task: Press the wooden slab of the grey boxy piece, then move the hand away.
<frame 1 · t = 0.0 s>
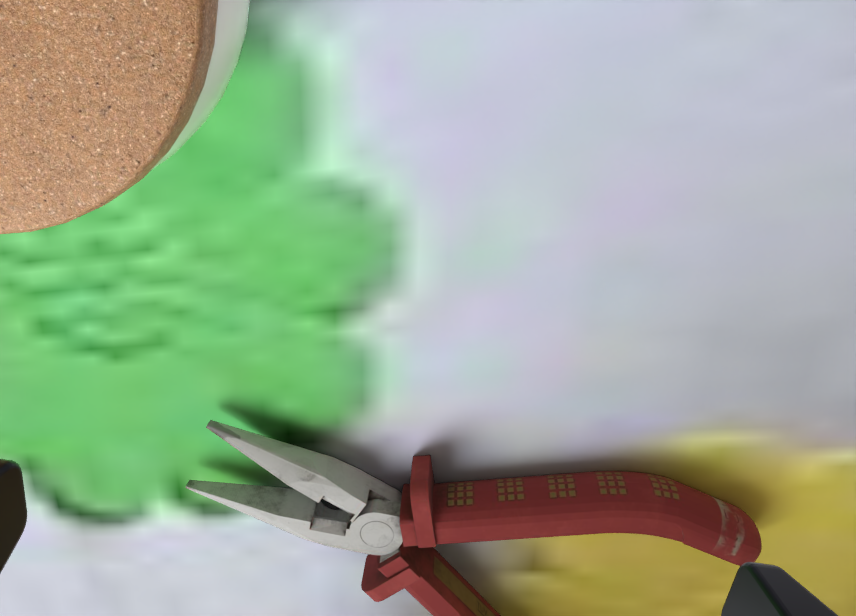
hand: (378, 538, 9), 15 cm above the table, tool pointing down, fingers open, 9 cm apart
pliers: (496, 501, 27), on the table
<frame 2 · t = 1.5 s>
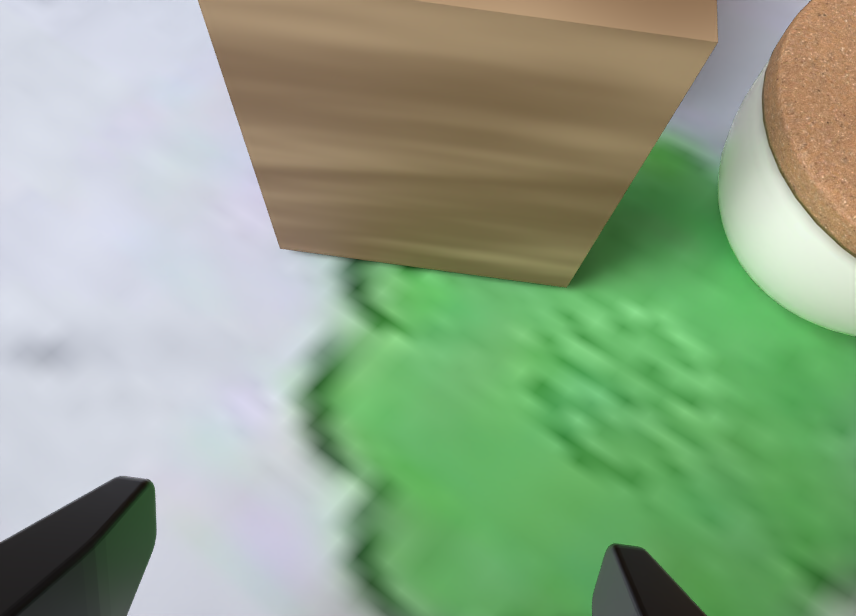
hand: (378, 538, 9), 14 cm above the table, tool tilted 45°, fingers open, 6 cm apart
wooden slab: (408, 37, 20), point 6 cm above the table, slide at 0.0 cm
lidded jar: (810, 243, 26), on the table
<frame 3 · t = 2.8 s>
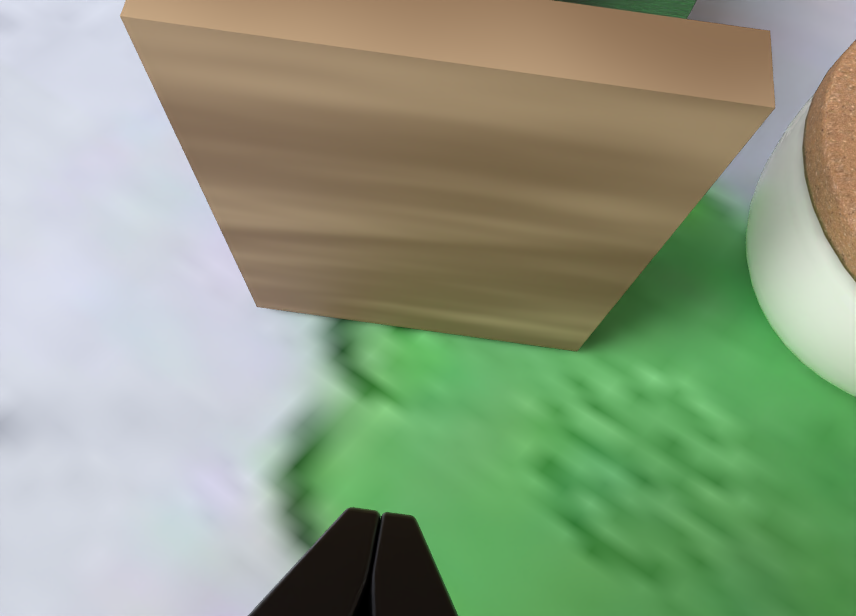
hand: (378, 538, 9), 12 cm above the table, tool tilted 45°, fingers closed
wooden slab: (399, 78, 18), point 7 cm above the table, slide at 0.0 cm
lidded jar: (846, 298, 24), on the table
grey boxy piece: (416, 334, 22), on the table
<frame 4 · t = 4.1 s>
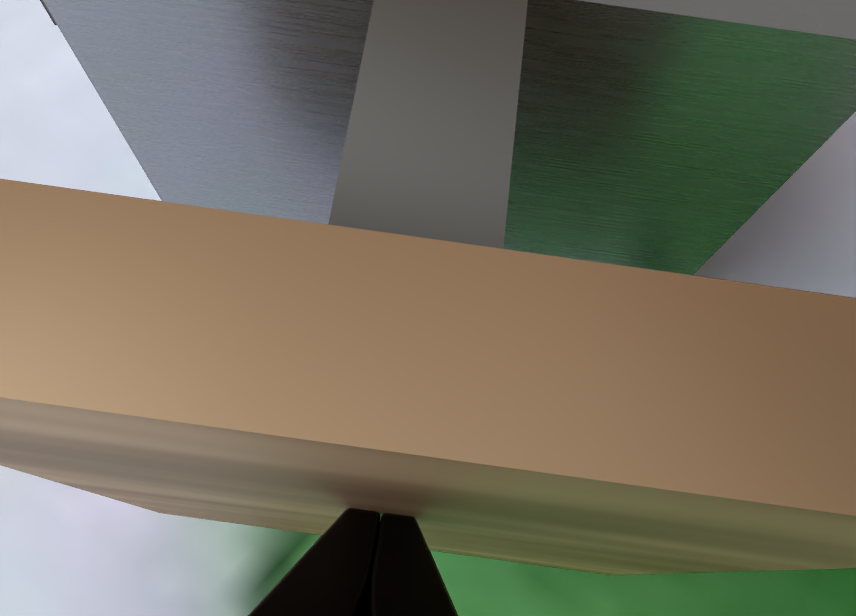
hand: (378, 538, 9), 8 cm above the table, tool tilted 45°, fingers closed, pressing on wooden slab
wooden slab: (347, 232, 12), point 6 cm above the table, slide at 1.1 cm, touching gripper
grey boxy piece: (377, 594, 16), on the table
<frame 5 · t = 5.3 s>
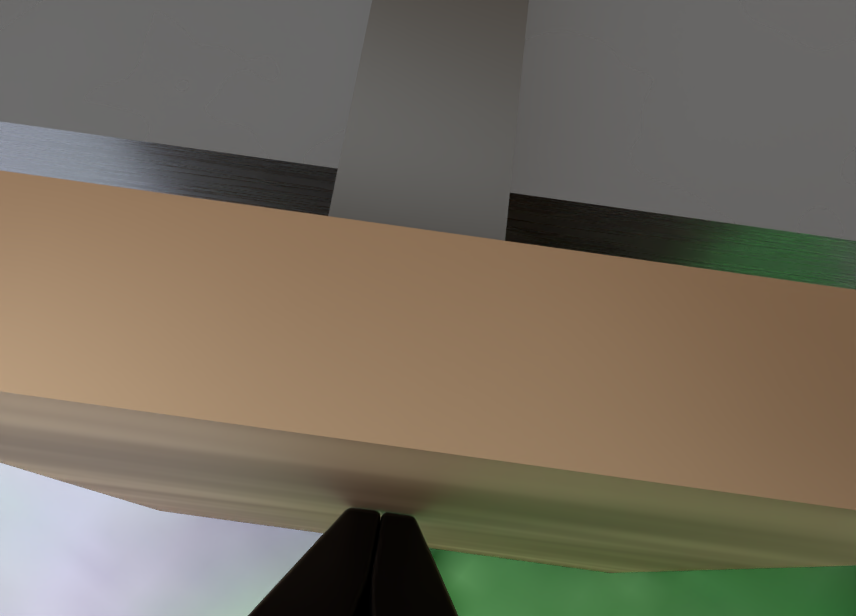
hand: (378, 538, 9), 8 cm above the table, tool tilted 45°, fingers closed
wooden slab: (347, 228, 12), point 7 cm above the table, slide at 4.1 cm
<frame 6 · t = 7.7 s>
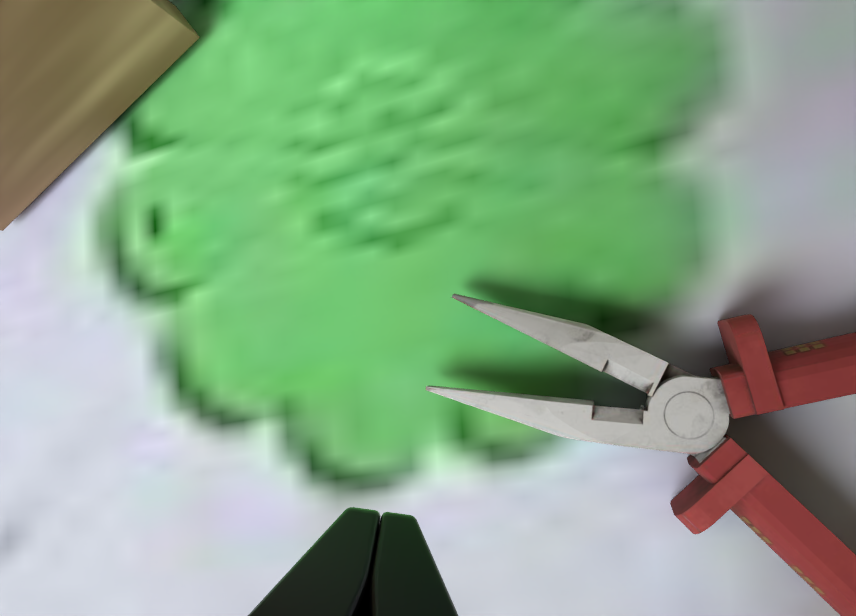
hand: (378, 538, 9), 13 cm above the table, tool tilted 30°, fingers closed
pliers: (849, 399, 19), on the table
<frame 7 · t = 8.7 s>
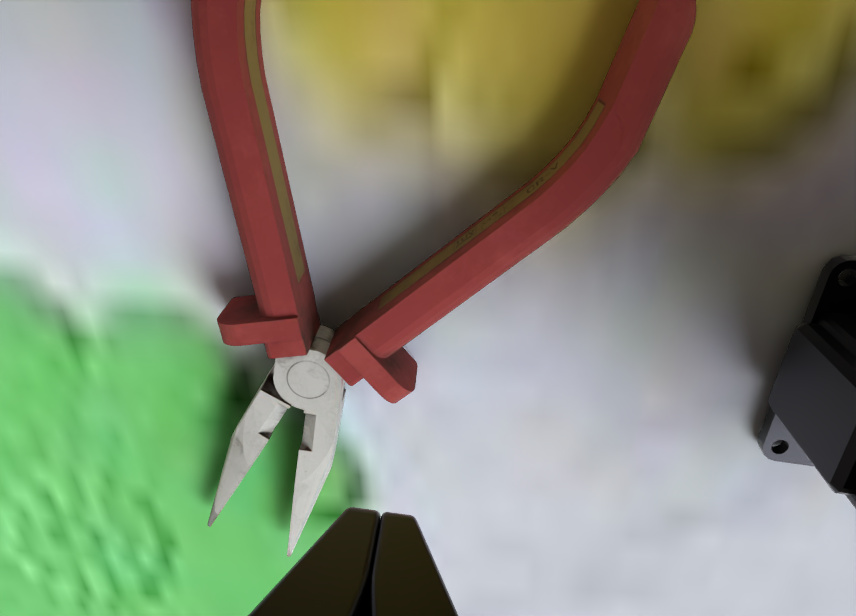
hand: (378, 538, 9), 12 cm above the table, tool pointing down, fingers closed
pliers: (319, 207, 20), on the table
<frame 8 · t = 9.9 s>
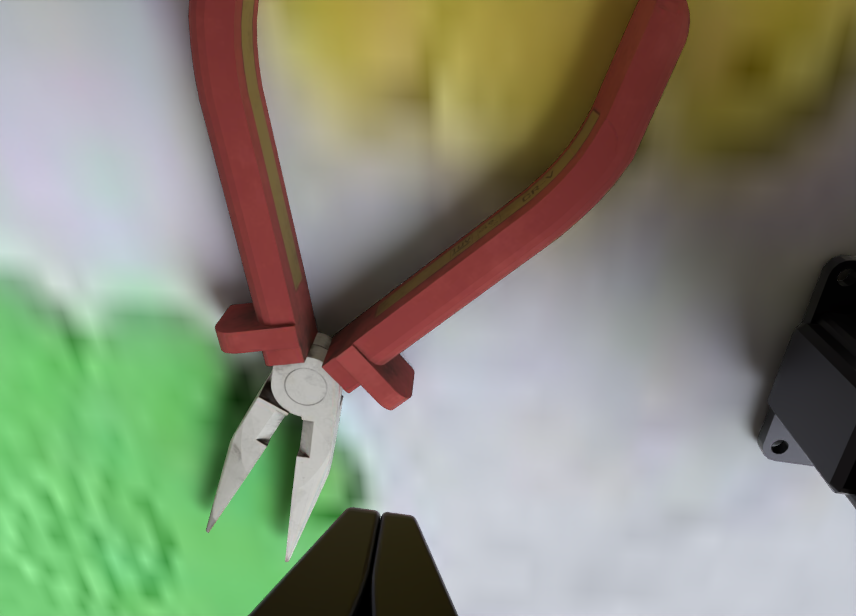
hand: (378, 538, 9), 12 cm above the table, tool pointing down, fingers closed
pliers: (316, 215, 20), on the table
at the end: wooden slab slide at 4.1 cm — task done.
